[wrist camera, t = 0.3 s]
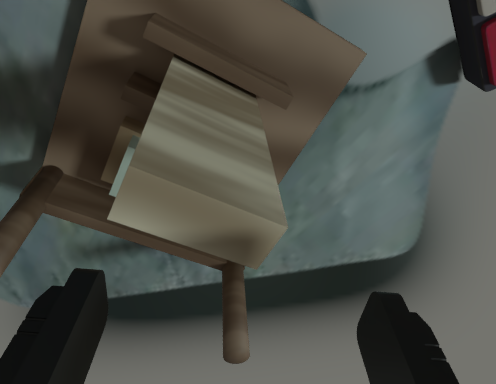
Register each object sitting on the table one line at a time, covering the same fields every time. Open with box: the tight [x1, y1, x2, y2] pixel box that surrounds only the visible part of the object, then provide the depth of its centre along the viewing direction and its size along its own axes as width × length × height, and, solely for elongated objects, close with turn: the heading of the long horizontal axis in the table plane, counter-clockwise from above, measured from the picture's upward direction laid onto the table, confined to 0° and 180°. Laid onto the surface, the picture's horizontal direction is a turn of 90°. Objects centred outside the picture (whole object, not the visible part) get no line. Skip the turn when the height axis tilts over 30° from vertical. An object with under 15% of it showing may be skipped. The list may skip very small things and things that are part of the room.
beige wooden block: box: [107, 53, 288, 270], centre depth 20 cm, size 2×6×16 cm, turn 62°
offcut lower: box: [101, 116, 145, 184], centre depth 29 cm, size 5×9×2 cm, turn 62°
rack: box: [0, 0, 367, 364], centre depth 24 cm, size 20×18×14 cm
